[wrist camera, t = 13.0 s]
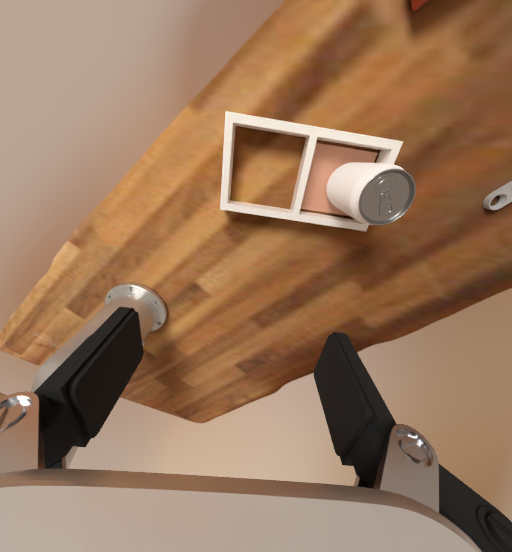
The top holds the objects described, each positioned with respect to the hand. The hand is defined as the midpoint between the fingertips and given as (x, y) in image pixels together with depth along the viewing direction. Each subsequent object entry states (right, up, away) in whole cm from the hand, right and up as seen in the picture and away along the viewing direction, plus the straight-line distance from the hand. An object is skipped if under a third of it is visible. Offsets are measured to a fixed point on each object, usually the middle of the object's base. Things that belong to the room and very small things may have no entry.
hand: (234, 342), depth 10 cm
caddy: (+8, +19, +22) cm, 30 cm away
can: (+15, +17, +22) cm, 32 cm away
